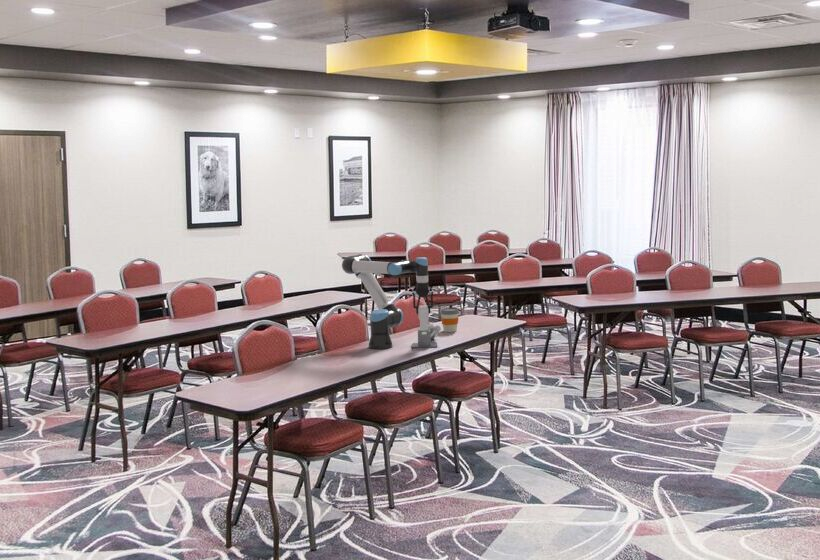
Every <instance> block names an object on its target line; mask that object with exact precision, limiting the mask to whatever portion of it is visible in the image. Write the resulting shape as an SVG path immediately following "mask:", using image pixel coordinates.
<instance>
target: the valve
mask: <svg viewBox="0 0 820 560" xmlns="http://www.w3.org/2000/svg"><path fill="white" fill-rule="evenodd" d="M428 329H430V332H431V340H433V339H435V338H436V337H437V336H438V334H439V333H440V332H441V330H442V329H441V326H440V325H435V326H434V325H433V323H428Z"/></svg>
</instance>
